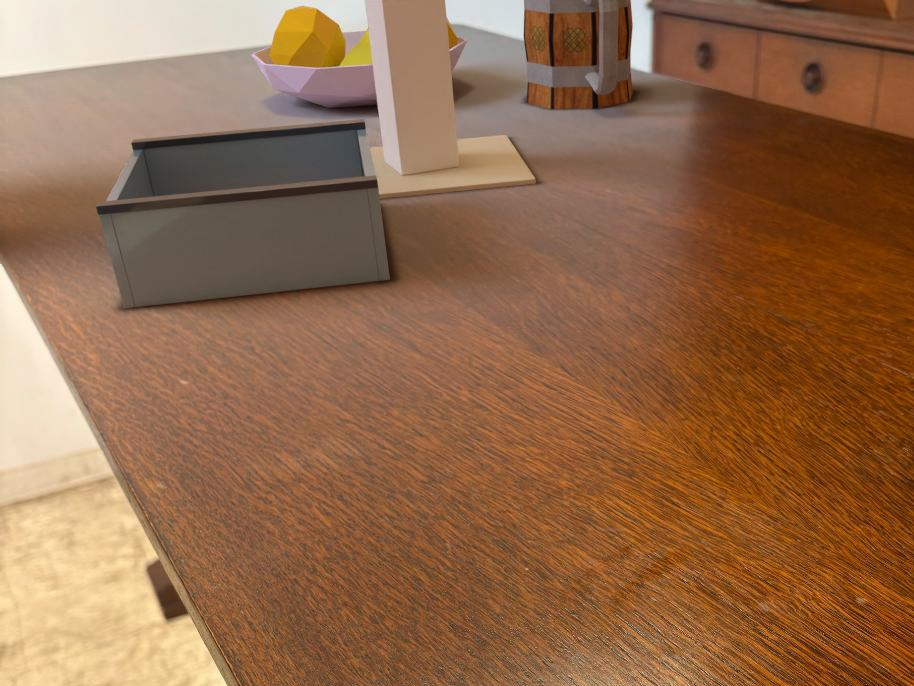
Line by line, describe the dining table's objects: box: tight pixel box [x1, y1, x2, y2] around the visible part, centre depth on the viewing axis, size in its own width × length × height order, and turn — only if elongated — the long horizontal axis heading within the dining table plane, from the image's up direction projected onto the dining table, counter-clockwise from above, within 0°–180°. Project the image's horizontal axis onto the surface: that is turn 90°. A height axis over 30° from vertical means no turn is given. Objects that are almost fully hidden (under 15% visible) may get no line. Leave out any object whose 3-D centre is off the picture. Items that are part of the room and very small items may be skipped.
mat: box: [370, 134, 537, 200], centre depth 108 cm, size 20×18×1 cm
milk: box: [364, 0, 459, 175], centre depth 102 cm, size 6×6×22 cm
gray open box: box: [95, 118, 391, 309], centre depth 87 cm, size 20×20×8 cm
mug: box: [523, 0, 634, 110], centre depth 126 cm, size 20×14×15 cm
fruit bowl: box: [250, 5, 468, 109], centre depth 137 cm, size 28×27×11 cm
